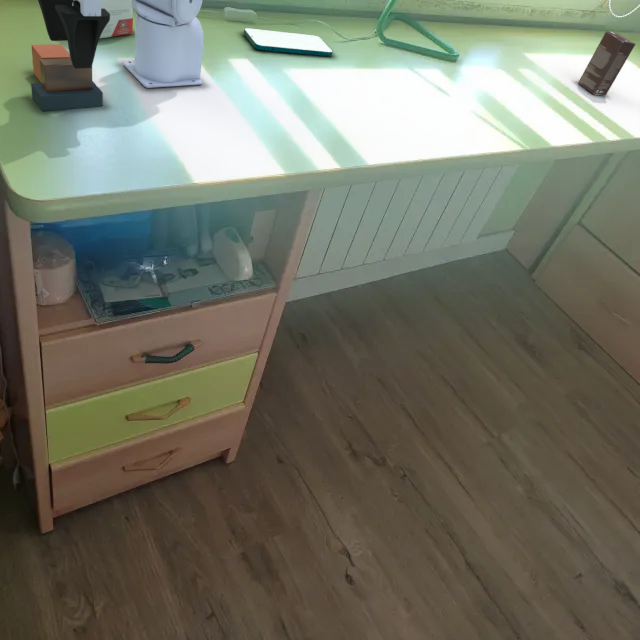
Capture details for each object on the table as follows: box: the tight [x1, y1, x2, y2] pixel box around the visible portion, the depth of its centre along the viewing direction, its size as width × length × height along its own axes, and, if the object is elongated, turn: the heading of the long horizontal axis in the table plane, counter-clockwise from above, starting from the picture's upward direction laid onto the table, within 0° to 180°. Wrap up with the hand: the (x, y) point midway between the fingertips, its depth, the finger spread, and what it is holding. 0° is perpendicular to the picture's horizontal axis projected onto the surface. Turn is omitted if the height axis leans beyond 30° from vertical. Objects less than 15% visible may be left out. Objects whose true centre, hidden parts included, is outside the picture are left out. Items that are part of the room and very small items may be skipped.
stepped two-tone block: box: [30, 58, 104, 112], centre depth 79 cm, size 8×4×6 cm, turn 127°
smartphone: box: [243, 27, 334, 57], centre depth 115 cm, size 8×1×16 cm
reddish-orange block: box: [31, 43, 70, 83], centre depth 83 cm, size 4×4×4 cm
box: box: [577, 30, 636, 96], centre depth 137 cm, size 6×4×12 cm
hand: (70, 53), depth 76 cm, fingers open, 7 cm apart
